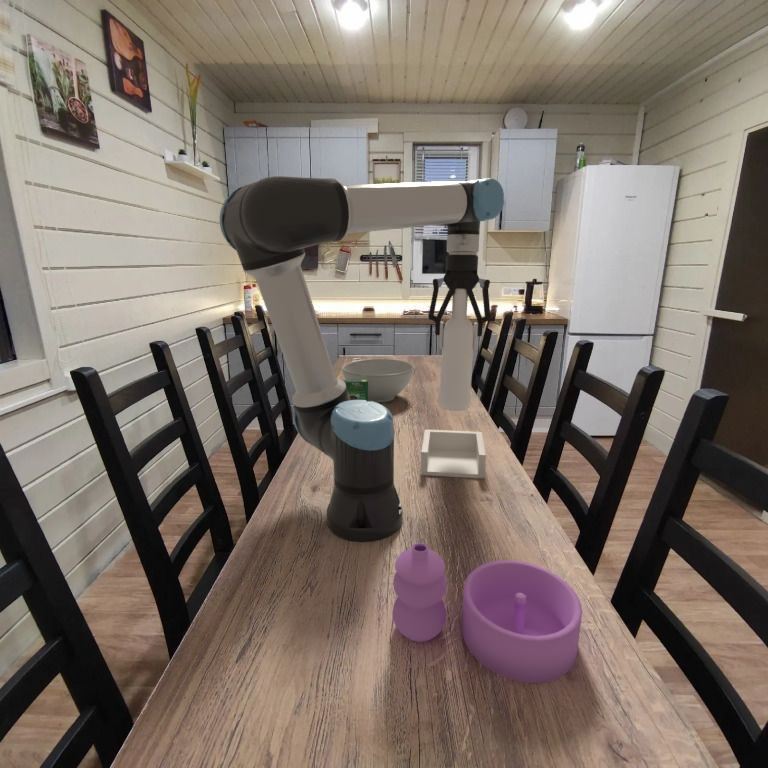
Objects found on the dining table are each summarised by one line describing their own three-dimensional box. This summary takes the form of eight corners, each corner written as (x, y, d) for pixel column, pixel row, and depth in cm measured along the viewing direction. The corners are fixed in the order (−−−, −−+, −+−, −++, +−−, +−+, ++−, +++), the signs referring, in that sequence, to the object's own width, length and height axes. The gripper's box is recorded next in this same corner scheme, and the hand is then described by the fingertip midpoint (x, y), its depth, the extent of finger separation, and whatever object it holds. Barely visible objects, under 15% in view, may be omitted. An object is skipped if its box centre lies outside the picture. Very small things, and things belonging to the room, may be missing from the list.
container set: (559, 598, 70) (567, 523, 67) (593, 688, 56) (606, 597, 52) (396, 589, 72) (396, 515, 69) (388, 673, 58) (387, 584, 54)
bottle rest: (484, 478, 108) (485, 455, 107) (420, 474, 110) (421, 452, 109) (480, 452, 123) (481, 431, 121) (424, 450, 125) (424, 429, 123)
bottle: (470, 412, 114) (477, 289, 106) (438, 410, 115) (443, 288, 108) (470, 403, 122) (476, 287, 114) (440, 401, 123) (445, 287, 115)
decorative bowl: (410, 387, 185) (411, 358, 182) (417, 408, 160) (417, 374, 156) (344, 388, 185) (343, 359, 182) (340, 409, 159) (339, 375, 156)
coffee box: (368, 416, 151) (367, 378, 148) (369, 419, 149) (368, 380, 145) (343, 418, 150) (342, 379, 147) (344, 421, 147) (342, 381, 144)
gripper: (418, 253, 106) (415, 350, 112) (508, 254, 104) (501, 352, 110) (419, 254, 114) (417, 345, 119) (504, 254, 111) (497, 347, 117)
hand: (457, 348), depth 115 cm, fingers closed on bottle, 8 cm apart
